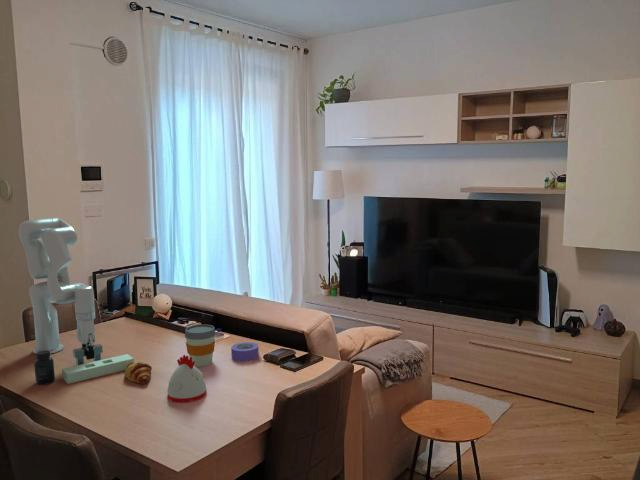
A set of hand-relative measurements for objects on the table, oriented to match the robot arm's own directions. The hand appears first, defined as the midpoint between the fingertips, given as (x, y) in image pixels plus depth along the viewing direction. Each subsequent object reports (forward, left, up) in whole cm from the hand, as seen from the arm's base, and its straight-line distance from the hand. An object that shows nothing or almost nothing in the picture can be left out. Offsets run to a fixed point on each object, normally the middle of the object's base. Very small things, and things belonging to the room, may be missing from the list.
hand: (88, 356), depth 233 cm
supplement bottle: (+10, -19, -3) cm, 22 cm away
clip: (0, 0, -3) cm, 3 cm away
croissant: (+28, +11, -3) cm, 31 cm away
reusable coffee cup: (+31, +37, -3) cm, 48 cm away
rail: (+14, 0, -3) cm, 14 cm away
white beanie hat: (+57, +18, -3) cm, 59 cm away
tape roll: (+37, +55, -3) cm, 66 cm away
